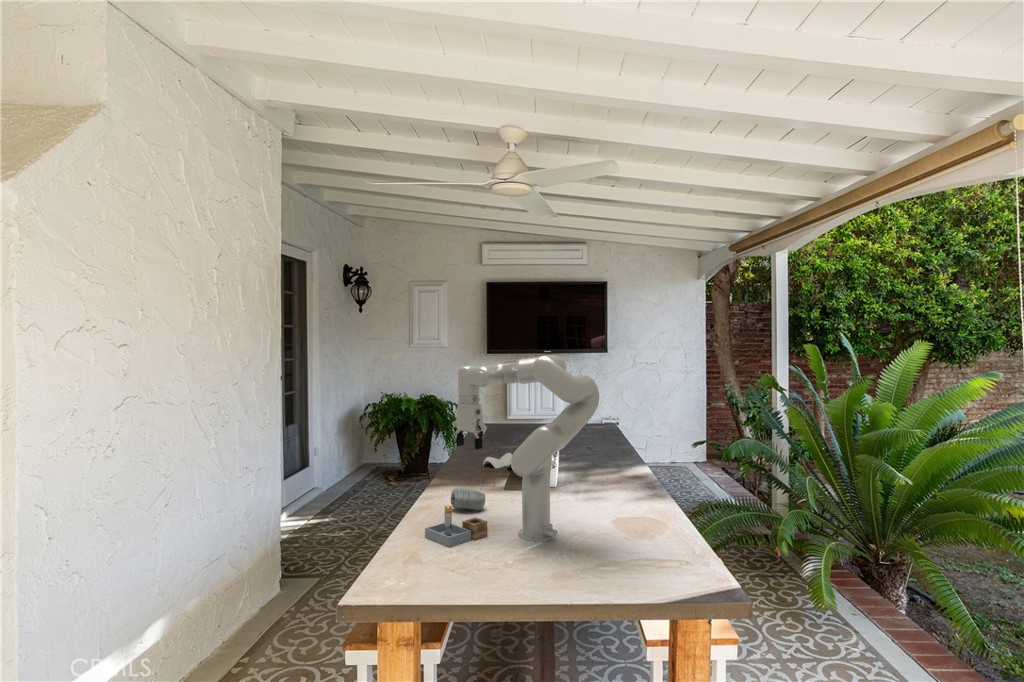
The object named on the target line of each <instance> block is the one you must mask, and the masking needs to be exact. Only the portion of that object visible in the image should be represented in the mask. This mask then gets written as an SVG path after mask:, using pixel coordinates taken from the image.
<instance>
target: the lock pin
mask: <svg viewBox="0 0 1024 682" xmlns="http://www.w3.org/2000/svg"><path fill="white" fill-rule="evenodd" d="M452 519H453V506H452V505H444V523H445V528H444V535H447V536H449V537H450V536H452V524H453V520H452Z"/></svg>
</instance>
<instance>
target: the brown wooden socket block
mask: <svg viewBox="0 0 1024 682" xmlns="http://www.w3.org/2000/svg"><path fill="white" fill-rule="evenodd" d="M461 524H462V526H461V527H462V528H465V529H468V530H471V541H472V540H473V541H476V540H480V539H482V538H486V537H488V520H485V519H482V518H478V517H471V518H469V519H466V520H462V522H461Z"/></svg>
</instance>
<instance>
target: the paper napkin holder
mask: <svg viewBox="0 0 1024 682" xmlns="http://www.w3.org/2000/svg"><path fill="white" fill-rule="evenodd" d="M512 455H513V454H512V453H511V452H507V453H505V454H503V455H502V456H501V457H500V458H499V459H498V458H496V457H492V456H487V457H485V459H484V460H483V463H482V466H483V467H484V465H485V464H486V462H489V463H490V464H491V465H492V466H493V467H494V469H499V468H503V467H507V470H508V469H509V468H511V458H512Z"/></svg>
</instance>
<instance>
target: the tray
mask: <svg viewBox="0 0 1024 682" xmlns="http://www.w3.org/2000/svg"><path fill="white" fill-rule="evenodd" d="M444 528H445V522H442V523H438V524H435V525H432V526H428V527H425V528H424V538H425V539H428V540H431V541H433V542H436V543H438V544H440V545H443V546H446V547H448V548H451V547H455V546H458V545H460V544H464V543H467V542H469V541H472V539H471V530H468V529H465V528H462V526H460V525H457V524H454V523H452V536H450V537H449V536H447V535H444Z"/></svg>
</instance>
